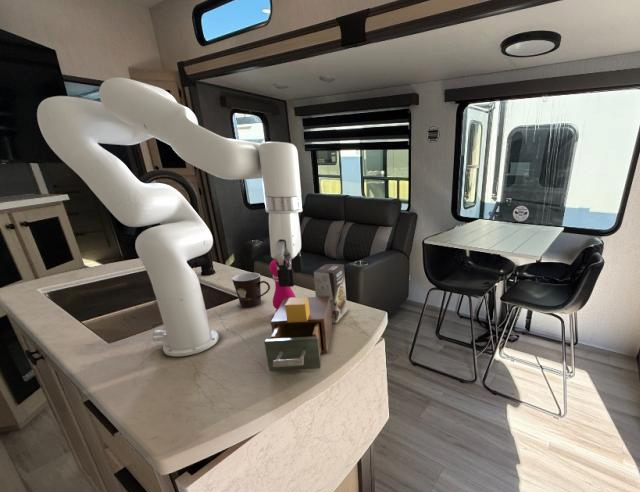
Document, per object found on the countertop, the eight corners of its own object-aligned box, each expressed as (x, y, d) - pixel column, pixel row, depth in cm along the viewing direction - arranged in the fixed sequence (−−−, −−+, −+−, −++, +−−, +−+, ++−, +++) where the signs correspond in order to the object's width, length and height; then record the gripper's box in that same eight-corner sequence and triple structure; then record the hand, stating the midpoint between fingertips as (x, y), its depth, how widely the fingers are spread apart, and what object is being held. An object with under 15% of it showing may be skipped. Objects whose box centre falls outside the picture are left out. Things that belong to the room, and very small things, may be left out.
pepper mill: (269, 317, 100) (259, 255, 93) (285, 308, 106) (277, 250, 99) (287, 321, 97) (279, 258, 91) (303, 311, 104) (295, 252, 97)
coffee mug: (232, 305, 109) (226, 277, 105) (255, 297, 115) (250, 271, 112) (251, 313, 102) (246, 284, 99) (274, 304, 109) (270, 277, 106)
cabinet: (327, 352, 81) (323, 318, 77) (276, 355, 80) (270, 321, 76) (332, 326, 94) (329, 296, 91) (288, 328, 93) (284, 298, 90)
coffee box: (337, 323, 96) (333, 273, 90) (317, 321, 97) (312, 271, 91) (347, 311, 104) (344, 264, 99) (329, 309, 105) (325, 262, 100)
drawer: (317, 382, 68) (314, 350, 66) (262, 385, 67) (257, 354, 65) (326, 338, 86) (324, 312, 83) (283, 341, 84) (279, 314, 82)
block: (287, 322, 76) (284, 305, 74) (291, 314, 80) (289, 297, 78) (307, 321, 76) (305, 304, 75) (310, 313, 80) (308, 296, 79)
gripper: (276, 200, 76) (283, 268, 82) (253, 209, 60) (264, 293, 66) (308, 200, 77) (313, 267, 83) (293, 209, 61) (301, 292, 67)
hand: (291, 278), depth 75 cm, fingers open, 9 cm apart
